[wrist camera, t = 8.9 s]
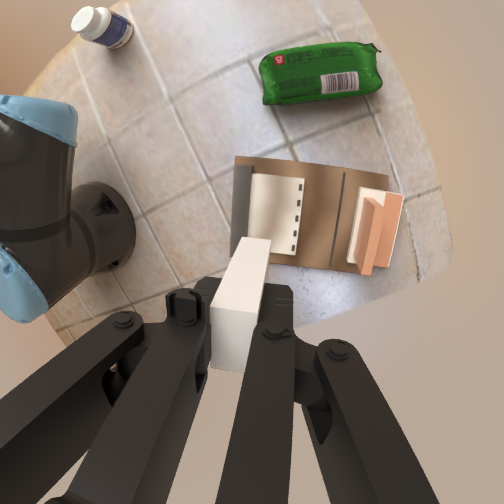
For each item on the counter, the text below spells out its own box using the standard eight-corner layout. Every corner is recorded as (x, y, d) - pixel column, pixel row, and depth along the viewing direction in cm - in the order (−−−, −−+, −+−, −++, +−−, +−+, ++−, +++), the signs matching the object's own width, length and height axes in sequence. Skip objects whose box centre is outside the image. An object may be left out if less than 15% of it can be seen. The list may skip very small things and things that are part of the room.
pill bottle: (139, 19, 31) (103, 0, 22) (127, 49, 33) (88, 35, 24) (113, 19, 31) (76, 3, 22) (101, 48, 33) (62, 37, 24)
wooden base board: (231, 254, 42) (226, 262, 40) (236, 155, 37) (231, 157, 34) (367, 271, 40) (372, 280, 37) (386, 175, 35) (393, 178, 32)
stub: (346, 258, 39) (354, 281, 33) (358, 186, 35) (371, 196, 29) (386, 263, 38) (400, 286, 32) (401, 194, 34) (420, 205, 28)
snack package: (382, 97, 31) (395, 91, 26) (266, 112, 34) (261, 107, 30) (370, 49, 29) (380, 37, 24) (255, 63, 32) (248, 51, 27)
